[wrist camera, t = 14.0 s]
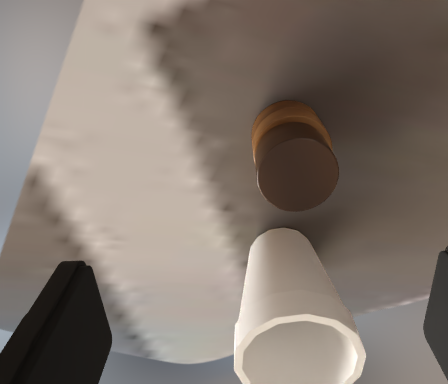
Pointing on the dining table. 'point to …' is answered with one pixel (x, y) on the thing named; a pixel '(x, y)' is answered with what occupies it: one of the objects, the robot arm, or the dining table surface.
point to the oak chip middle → (288, 116)
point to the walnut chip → (295, 167)
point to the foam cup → (293, 318)
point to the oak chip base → (279, 106)
